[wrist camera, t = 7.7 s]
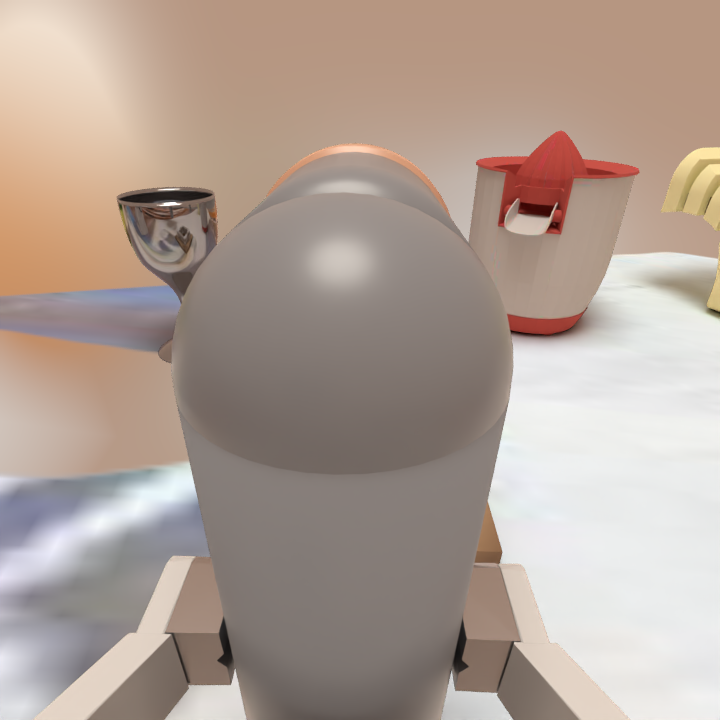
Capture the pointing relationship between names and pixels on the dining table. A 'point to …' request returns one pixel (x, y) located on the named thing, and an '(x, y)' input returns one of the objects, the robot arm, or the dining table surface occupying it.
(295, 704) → the pipe elbow
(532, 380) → the dining table surface
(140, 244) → the wine glass
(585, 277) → the citrus juicer
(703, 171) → the slatted curved stool
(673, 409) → the dining table surface
